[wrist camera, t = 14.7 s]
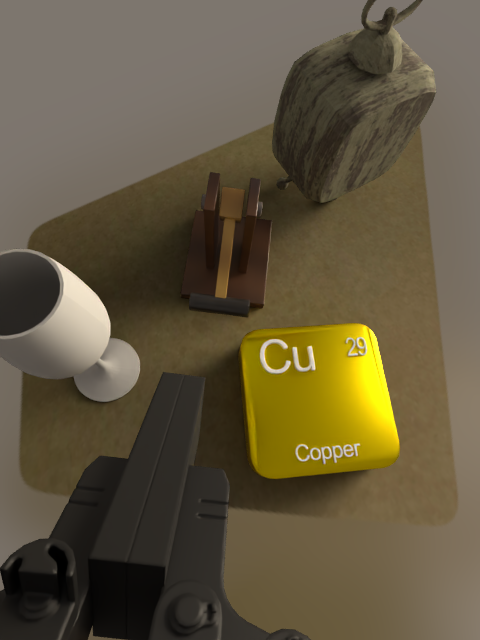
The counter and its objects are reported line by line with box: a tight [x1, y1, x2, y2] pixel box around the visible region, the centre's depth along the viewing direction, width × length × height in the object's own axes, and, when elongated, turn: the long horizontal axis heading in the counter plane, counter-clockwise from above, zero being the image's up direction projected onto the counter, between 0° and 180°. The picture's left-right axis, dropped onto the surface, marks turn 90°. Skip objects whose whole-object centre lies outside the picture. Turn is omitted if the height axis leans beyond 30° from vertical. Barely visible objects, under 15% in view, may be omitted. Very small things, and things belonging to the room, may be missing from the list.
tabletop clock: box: [272, 0, 436, 203], centre depth 41 cm, size 14×9×25 cm, turn 121°
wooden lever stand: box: [181, 172, 272, 308], centre depth 41 cm, size 12×10×13 cm
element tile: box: [238, 323, 400, 479], centre depth 40 cm, size 15×15×5 cm
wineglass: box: [0, 249, 140, 402], centre depth 32 cm, size 8×8×21 cm
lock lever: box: [189, 187, 250, 317], centre depth 37 cm, size 12×6×2 cm, turn 173°
